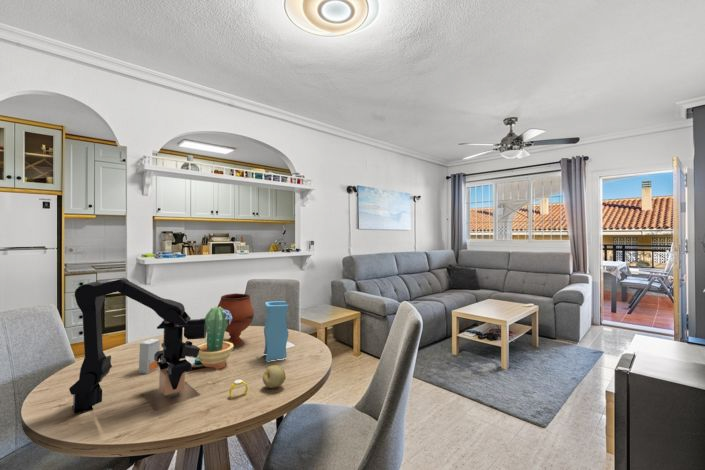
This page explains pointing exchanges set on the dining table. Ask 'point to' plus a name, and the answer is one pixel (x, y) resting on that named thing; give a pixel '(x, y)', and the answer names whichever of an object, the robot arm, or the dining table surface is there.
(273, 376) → the fruit
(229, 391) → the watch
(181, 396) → the board
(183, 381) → the salmon pink rectangular prism
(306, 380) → the dining table surface
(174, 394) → the post
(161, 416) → the dining table surface
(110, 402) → the dining table surface
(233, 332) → the brown clay urn
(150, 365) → the skincare box
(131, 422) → the dining table surface
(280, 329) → the vase
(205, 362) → the potted cactus
